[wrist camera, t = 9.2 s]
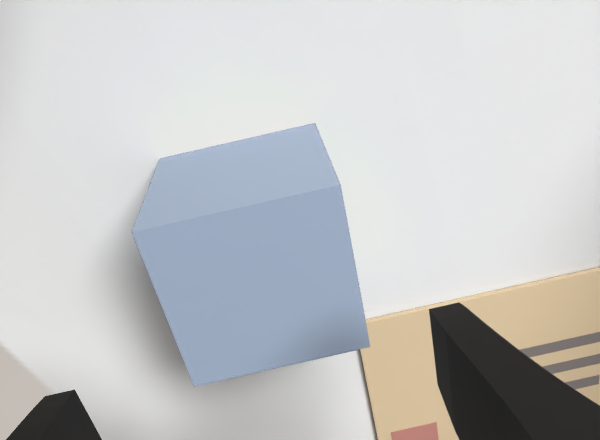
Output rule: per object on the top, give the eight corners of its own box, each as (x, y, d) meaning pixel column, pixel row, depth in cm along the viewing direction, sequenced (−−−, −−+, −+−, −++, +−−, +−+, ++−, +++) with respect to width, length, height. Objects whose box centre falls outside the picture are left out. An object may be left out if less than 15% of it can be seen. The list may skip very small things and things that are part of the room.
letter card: (663, 252, 20) (667, 255, 20) (641, 417, 25) (644, 421, 24) (354, 321, 20) (355, 325, 20) (384, 474, 25) (386, 479, 24)
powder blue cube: (314, 122, 17) (340, 184, 12) (341, 254, 19) (370, 347, 15) (160, 157, 17) (131, 231, 13) (204, 285, 19) (193, 386, 15)
